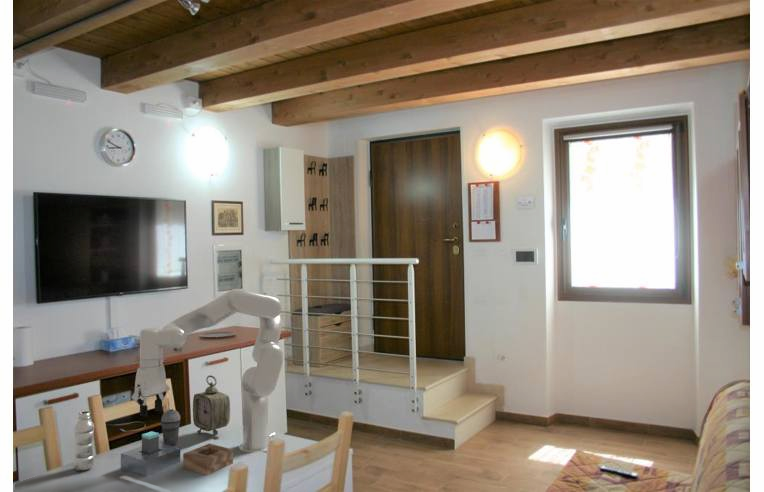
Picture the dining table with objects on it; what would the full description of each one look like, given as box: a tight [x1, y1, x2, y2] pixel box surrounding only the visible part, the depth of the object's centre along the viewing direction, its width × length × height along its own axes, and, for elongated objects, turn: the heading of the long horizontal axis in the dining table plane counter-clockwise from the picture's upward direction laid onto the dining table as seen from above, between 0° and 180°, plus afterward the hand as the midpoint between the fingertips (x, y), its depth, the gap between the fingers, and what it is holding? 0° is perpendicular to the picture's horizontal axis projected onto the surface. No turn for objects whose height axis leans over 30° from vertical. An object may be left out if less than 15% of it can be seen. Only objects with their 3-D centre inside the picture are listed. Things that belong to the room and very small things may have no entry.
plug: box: [141, 430, 160, 455], centre depth 200 cm, size 4×4×11 cm
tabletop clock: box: [192, 374, 231, 441], centre depth 234 cm, size 14×9×25 cm, turn 50°
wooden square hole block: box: [182, 443, 234, 476], centre depth 200 cm, size 12×12×6 cm
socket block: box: [120, 442, 181, 477], centre depth 200 cm, size 14×14×6 cm
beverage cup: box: [160, 397, 182, 448], centre depth 217 cm, size 7×7×20 cm
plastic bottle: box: [73, 411, 95, 472], centre depth 198 cm, size 6×7×20 cm
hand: (151, 413), depth 200 cm, fingers open, 5 cm apart
